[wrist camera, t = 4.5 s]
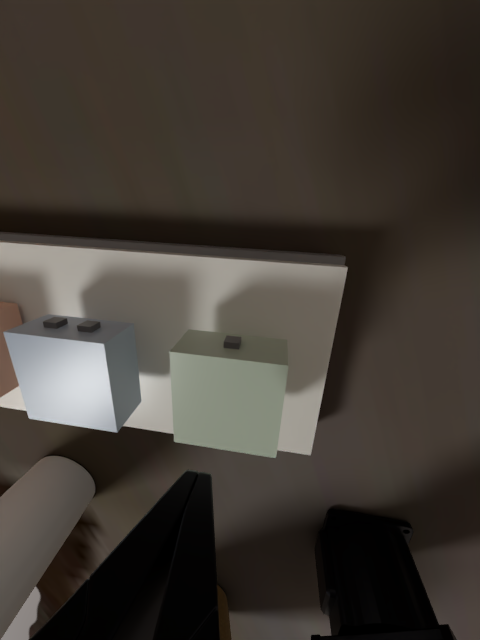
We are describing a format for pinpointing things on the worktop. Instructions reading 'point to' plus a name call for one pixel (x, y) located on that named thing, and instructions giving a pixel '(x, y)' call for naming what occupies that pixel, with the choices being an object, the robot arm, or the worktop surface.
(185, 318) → the console
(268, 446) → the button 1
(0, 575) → the mug
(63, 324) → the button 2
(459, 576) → the worktop surface
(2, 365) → the orange block with buttons
